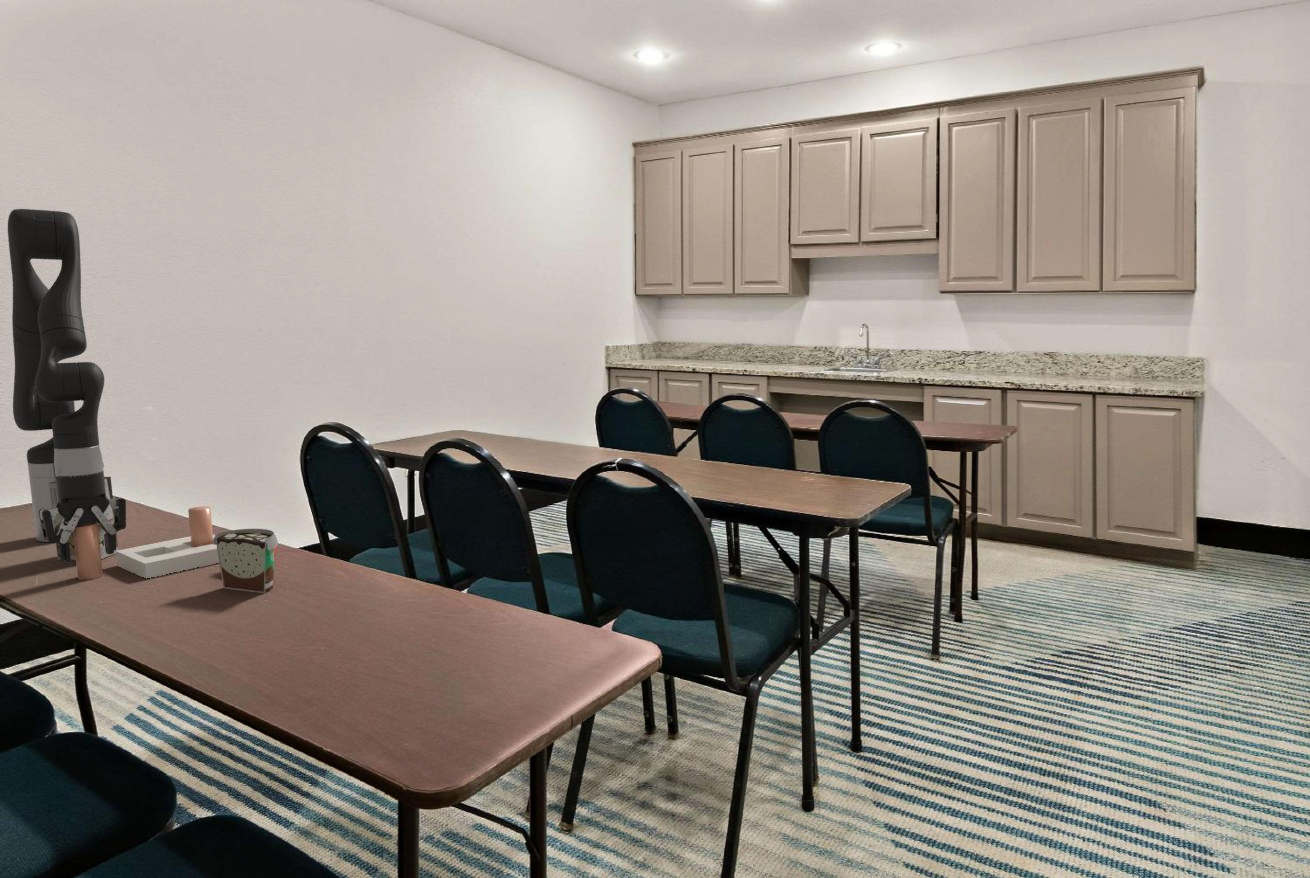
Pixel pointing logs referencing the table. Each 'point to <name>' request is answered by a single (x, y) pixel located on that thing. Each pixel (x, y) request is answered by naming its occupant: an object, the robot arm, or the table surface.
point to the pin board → (174, 550)
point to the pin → (87, 551)
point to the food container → (247, 559)
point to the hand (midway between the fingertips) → (88, 557)
